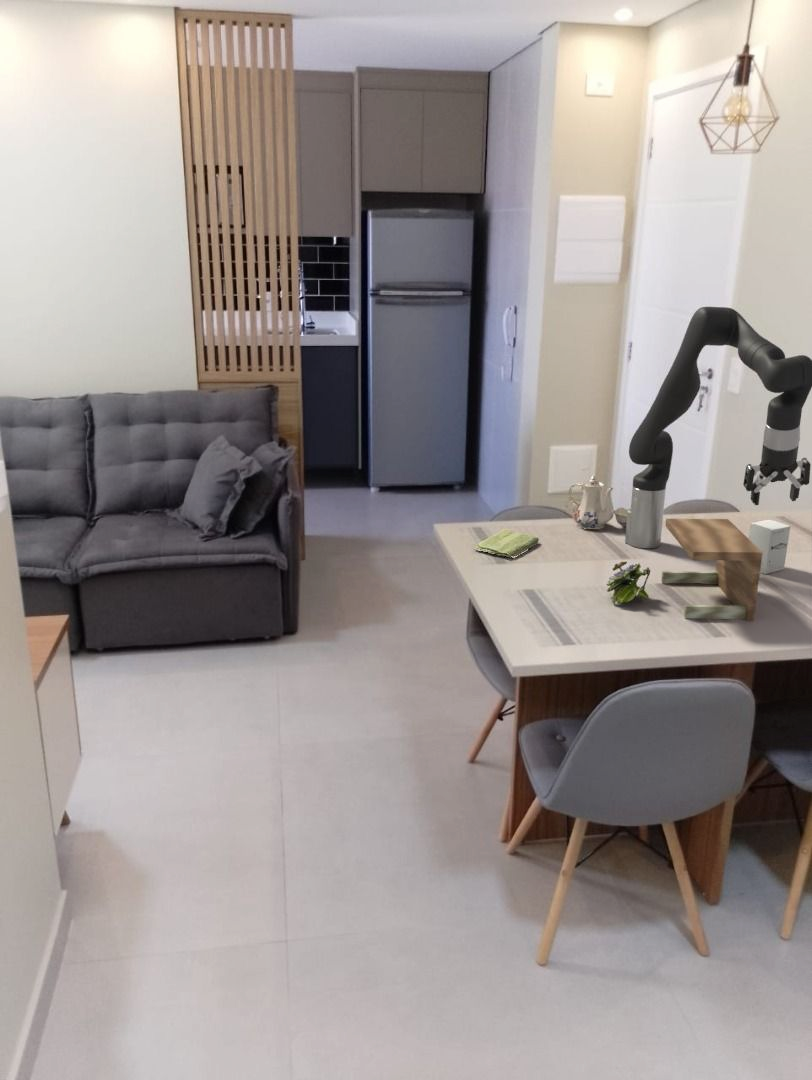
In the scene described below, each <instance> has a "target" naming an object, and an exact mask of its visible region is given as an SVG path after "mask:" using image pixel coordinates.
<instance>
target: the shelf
mask: <svg viewBox="0 0 812 1080" xmlns="http://www.w3.org/2000/svg"><path fill="white" fill-rule="evenodd" d="M665 527H666V529H667V530H668V531H669V532H670V534H671V535H672V536H673V538H674V539H675V540H676V541H677V543H678V544H679V545H680V546H681V547H682V549H683V550H684V551H685V553H687V555H688V557H690V559H691V560H692V561H716V565H715V571H685V570H684V571H683V570H682V571H680V570H679V571H675V570H673V571H672V570H670V571H669V570H667V571H665V570H662V571H661V578H660V579H661V580H660V583H661V582H662V583H661V584H668V583H702V584H701V585H703V583H706V584H705V585H717V586H718V587H719V588H720V590H721V591H722V592H723V594H724V595H725V596H726V597H727V598H728V599H729V601H730V602H731V603H732V604H733V605H732V604H731V605H729V604H728V605H727V604H726V605H725V604H724V605H723V604H722V605H721V604H716V605H715V604H711V605H710V604H684V610H683V618H684V619H702V620H703V619H704V620H705V619H710V620H711V619H716V620H719V619H722V620H726V619H727V620H728V619H729V620H733V619H734V620H746V622H747V621H748V622H751V621H754V618H755V611H756V603H757V598H758V597H757V596H758V589H759V581H760V568H761V561H762V554H763V552H762V551H761V550H760V549H759V548H758V547H757V546H755V545H754V544H753V543H752V542H751V541H750V540H749V539H748V538H749V537H747V536H746V535H745V534H744V532H742V531H741V530H740V529H739V528H738V526H736V525H735V524H734V523H733V522H732V521H731V520H730V519H728V518H665Z"/></svg>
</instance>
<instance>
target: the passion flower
mask: <svg viewBox="0 0 812 1080" xmlns="http://www.w3.org/2000/svg"><path fill="white" fill-rule="evenodd" d="M627 564H628V561H621V562H619V563H615V564H614V566H613V567H612V571H616V570H618V569H619V571H617V572H616V573H614V574H613V575H611V576H610V577H608V579H609V580H608V582H607V583H606V586H607V587H608V588H607V590H606V592H609V593H610V592H612V591H613V595H612V597H611V598H612V599H611V600H612V604H613V605H614V606H615V605H616V604H618V605H620V604H621V603H628V602H630V601H633V600H634V598H635V597H639V595H640V596H641V603H642V604H643V603H644V598H645V599H647V600H649V599H650V596H649V594H648V593H647V592H646V590H645V588H646V584H647V581H648V579H649V576H650V575H651V569H650V567H646V568H644V569H642V570H640V569H641V564H640V563H639V562H638V563H635V564H631V565H630V564H629V567H626V568H623V569H622V567H624V566H625V565H627ZM642 576H644V577H646V578H645V581H644V583H643V585H642V586H641V587H640V586H638V585H637V583H638V580H639V579H640V577H642Z"/></svg>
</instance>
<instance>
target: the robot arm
mask: <svg viewBox="0 0 812 1080" xmlns="http://www.w3.org/2000/svg"><path fill="white" fill-rule="evenodd" d="M706 346H713V347H715V346H718V347H719V346H720V347H722V346H730V347H733V348H736V349H737V355H738V358H739V360H740V361H741V362H742V363H743V365H745V366H747V367H748V368H749V369H751V370H752V371H753V372H755V373H756V374H757V376H758V377H759V379H760V381H761V383H762V384H763V387H764V388H765V389H766V390H767V391H768V392H771V393H774V394H779V395H776V396H774V397H773V398H772V399H771V400H770V401H769V403H768V406H767V412H766V413H767V414H766V420H765V421H766V422H765V427H764V430H763V440H762V449H761V450H762V451H761V457H760V459H761V460H760V463H759V465H752V464H751V463H750V464H749V463H748V464H746V466H745V473H744V477H743V485H742V486H743V487H744V488H745V490H746V492H751V493H750V500H751V503H752V504H754V506H759V504H760V496H761V492H760V491H761V490H762V489H763V488H764V487H766V486H767V485H768V484H769V483H775V482H785V481H786V480H787V479H788V481H789V482H790V483H791V484H790V488H789V490H790V491H789V499H790V500H791V502H796V501H797V499H799V495H800V489H801V487H803V485H805V486H808V485H809V484H810V477H811V462H810V461H809V460H808V458H807V457H803V458H801V460H797V459H798V452H799V445H800V441H801V436H800V435H801V420H802V419H801V418H802V412H803V407H804V406H805V403H806V401H807V399H808V396H809V395H810V392H811V389H812V359H811V357H809V356H808V355H805V354H804V355H803V354H801V355H800V354H799V355H793V356H791V357H786V355H785V352H784V351H783V349H781V348H780V347H779V346H777V345H776V344H774V343H773V342H771V341H769V340H768V339H766V338H765V337H763V336H761V335H760V334H759V333H758V332H757V331H756V330H755V329H754V328H753V327H752V326H751V325H750V324H749V322H748V321H747V320H746V319H745V318H744V317H743V316H742V315H741V314H740V313H739V312H738V311H737V310H735V309H733V308H732V307H726V306H725V307H723V306H721V307H719V306H701V307H700V308H698V309H697V310H695V312H694V313H693V315H692V317H691V319H690V321H689V322H688V326H687V328H686V331H685V334H684V336H683V339H682V342H681V345H680V347H679V350H678V351H677V353H676V355H675V356H676V357H674V358H675V359H674V360H673V363H672V365H671V367H670V368H669V371H668V373H667V375H666V377H665V378H664V379H663V382H662V384H661V386H660V388H659V390H658V393H657V394H656V397H655V399H654V401H653V403H652V404H651V406H650V408H649V410H648V412H647V414H646V416H645V417H644V419H643V420H642V422H641V423H640V425H639V426H638V427H637V429H636V430H635V432H634V434H633V436H631V437H632V438H631V440H630V442H629V448H628V455H629V458H630V460H631V462H632V463H634V464H636V465H641V466H642V465H643V466H647V467H645V469H644V470H642V471H641V472H639V473H637V474H635V475H634V476H633V479H632V487H631V489H632V490H631V499H630V500H631V501H630V509H631V510H630V511H628V513H627V524H626V529H625V536H624V543H625V544H628V545H630V546H632V547H635V548H641V549H655V548H659V547H660V546H661V539H662V531H663V520H664V509H665V501H666V500H665V499H666V490H667V489H666V488H667V483H668V481H669V478H670V474H671V472H670V471H671V465H672V459H673V452H674V451H673V450H674V443H673V439H672V436H671V435H670V433H669V432H667V431H666V429H667V428H668V427H669V426H670V425H672V424H673V423H675V421H677V420H679V419H680V418H681V417H682V416H683V415H685V414H686V412H688V411H689V409H690V408H691V406H692V404H693V403H694V402H695V399H696V397H697V396H698V393H699V391H700V389H701V376H700V371H699V368H698V367H699V366H698V359H699V357H700V354H701V353H702V350H703V349H704V348H705V347H706ZM798 468H799V470H800V474H799V476H800V477H799V478H797V477H796V476H795V475H794V474H793V473H795V471H796V470H797V469H798ZM758 472H759V474H758V475H757V473H758ZM755 476H756V478H755ZM754 478H755V479H754Z"/></svg>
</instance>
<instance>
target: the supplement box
mask: <svg viewBox="0 0 812 1080" xmlns="http://www.w3.org/2000/svg"><path fill="white" fill-rule="evenodd" d="M749 524H750V525H749V533H748V537H747V538H748V539H749V540H750V541H751V542H752V543H753V544H754V545H755V546H757V547H758V548H759V549H760V550H761V551H762V552H763V554H762V561H761V568H760V572H761V574H763V573H764V575H767V574H770V573H774V572H780V571H783V570H785V564H786V557H787V553H788V552H787V551H788V545H789V539H790V532H791V525H788V524H786V523H782V522H779V521H775V520H772V519H765V520H760V521H755V522H750V523H749Z"/></svg>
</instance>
